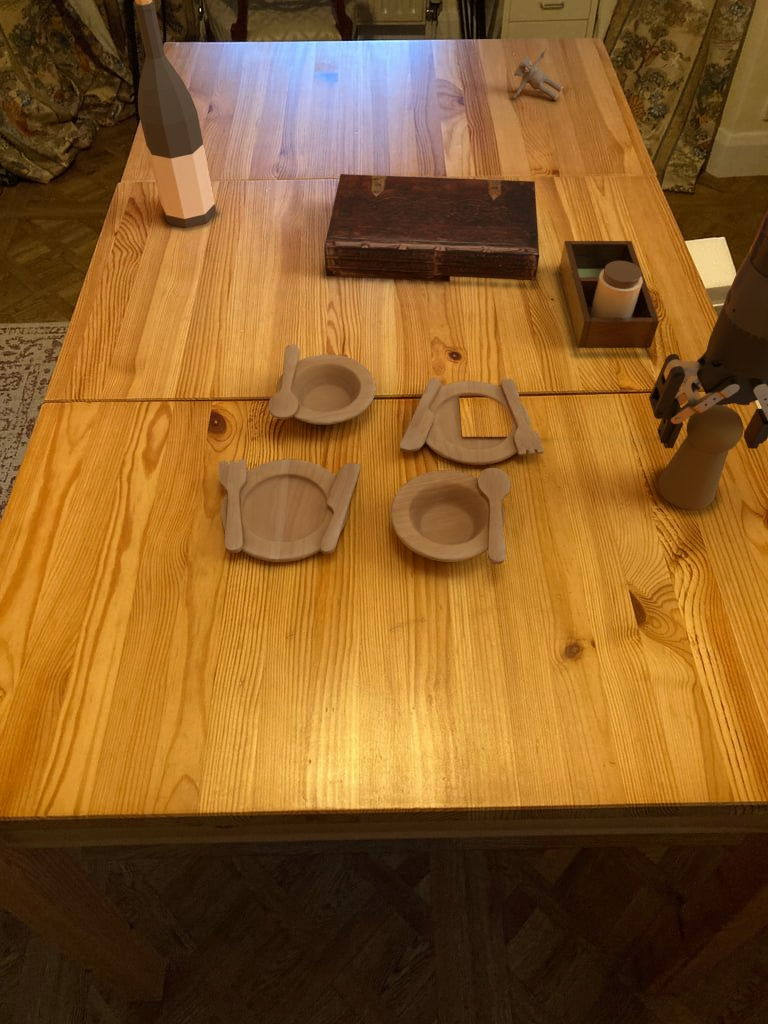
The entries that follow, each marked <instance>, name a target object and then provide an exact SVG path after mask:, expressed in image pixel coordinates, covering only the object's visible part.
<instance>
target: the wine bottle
mask: <svg viewBox="0 0 768 1024" xmlns="http://www.w3.org/2000/svg"><path fill="white" fill-rule="evenodd" d="M133 7H134V9H135V13H136V17H137V22H138V26H139V31H140V35H141V39H142V45H143V48H144V53H145V57H144V62H143V67H142V71H141V73H140V77H139V83H138V91H137V92H138V93H137V110H138V111H137V113H138V117H139V120H140V121H139V122H140V124H141V128H142V133H143V137H144V140H145V145H146V149H147V153H148V157H149V161H150V166H151V169H152V173H153V177H154V181H155V186H156V189H157V193H158V197H159V202H160V205H161V209H162V212H163V215H164V217H165V218H166V220H167V222H168V225H170V226H171V225H172V226H175V227H179V228H180V227H181V228H185V229H187V228H193V227H196V226H201V225H206V224H207V223H208V222H209V221H210V220H211V219H212V218H213V217H214V216H215V215H216V203H215V199H214V194H213V189H212V183H211V178H210V172H209V167H208V161H207V156H206V152H205V146H204V140H203V136H202V135H203V133H202V130H201V129H202V128H201V124H200V119H199V114H198V110H197V107H196V105H195V102H194V100H193V98H192V94H191V93H190V92H189V90H188V88H187V86H186V84H185V81H184V80H183V79H182V77H181V75H180V74H179V73H178V72H177V70H176V68H175V67H174V66H173V64H171V62H170V60H169V58H167V56H166V53H165V49H164V45H163V40H162V34H161V29H160V25H159V20H158V15H157V10H156V3H155V0H134V1H133Z"/></svg>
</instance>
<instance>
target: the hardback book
mask: <svg viewBox="0 0 768 1024" xmlns="http://www.w3.org/2000/svg"><path fill="white" fill-rule="evenodd" d="M537 211H538V210H537V196H536V183H535V181H533V180H511V179H483V178H481V179H479V178H459V177H458V178H454V177H453V178H452V177H431V176H430V177H429V176H407V175H406V176H403V175H378V174H377V175H375V174H372V175H371V174H349V173H348V174H347V173H340V175H339V179H338V183H337V188H336V192H335V197H334V202H333V206H332V210H331V215H330V219H329V224H328V228H327V233H326V238H325V242H324V261H325V262H324V264H325V265H324V266H325V275H326V276H327V277H328V276H330V277H332V276H333V277H352V278H353V277H354V278H375V279H392V280H393V279H394V280H395V279H398V280H414V281H415V280H419V281H437V282H438V281H439V282H440V281H441V282H450V281H451V277H456V278H457V277H458V278H477V279H478V278H479V279H502V280H519V281H521V280H523V281H525V280H526V281H536V280H537V279H536V278H537V273H538V267H539V261H540V246H539V245H540V244H539V228H538V213H537Z"/></svg>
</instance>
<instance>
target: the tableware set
mask: <svg viewBox="0 0 768 1024" xmlns="http://www.w3.org/2000/svg"><path fill="white" fill-rule="evenodd" d="M300 354H301V352H300V347H299V346H298V345H297V344H287V345H286V347H285V349H284V355H283V356H284V357H283V365H282V374H281V375H280V377H279V379H278V381H277V384H276V390H275V391H276V392H275V394H273V395H272V396H271V397H270V399H269V401H268V403H267V408H268V412H269V413H270V415H271V416H272V417H273V418H276V419H280V420H286V419H289V418H294V419H297V420H298V421H300V422H304V423H307V424H310V425H311V424H312V425H319V426H326V425H328V426H331V425H336V424H341V423H345V422H347V421H348V422H349V421H351V420H353V419H355V418H357V417H358V416H360V415H362V414H363V413H364V412H365V411H366V410H367V409H368V408H369V407H370V406H371V405H372V403H373V401H374V399H375V395H376V392H377V391H376V390H377V384H376V381H375V378H374V375H373V374H372V373H371V372H370V370H369V369H368V368H367V367H366V366H365V365H364V364H362V363H361V362H359V361H357V360H356V359H353V358H351V357H348V356H345V355H341V354H318V355H312V356H308V357H305V358H302V359H300ZM515 382H516V381H515V380H513V379H511V378H505V379H502V380H501V381H500V386H498V385H496V384H493V383H489V382H485V381H478V380H462V381H455V382H449V383H446V384H444V385H442V381H441V379H440V378H438V377H433V378H432V377H431V378H430V379H429V381H428V382H427V384H426V386H425V389H424V390H423V393H422V395H421V398H420V400H419V402H418V404H417V407H416V408H415V411H414V413H413V415H412V417H411V420H410V421H409V424H408V427H407V428H406V431H405V433H404V435H403V437H402V440H401V442H400V444H399V451H400V452H403V453H408V454H411V453H412V454H413V453H416V452H417V451H419V450H420V449H421V448H422V447H423V446H424V445H426V446H427V447H428V448H429V449H431V450H432V451H433V452H434V453H435V454H437V455H438V456H440V457H442V458H445V459H447V460H449V461H451V462H455V463H458V464H462V465H469V466H487V465H493V464H497V463H500V462H503V461H505V460H507V459H509V458H511V457H513V456H514V455H516V454H518V456H526V455H527V453H528V455H534V454H535V452H536V453H537V454H538V455H541V454H544V453H545V449H544V446H543V442H542V440H541V437H540V434H539V433H538V432H537V431H536V430H534V429H533V428H531V427H532V426H531V425H532V422H531V417H530V414H529V412H528V410H527V408H526V406H525V404H524V403H522V401H521V398H520V394H519V390H518V388H517V385H516V383H515ZM461 396H481V397H484V398H487V399H490V400H493V401H494V402H497V403H498V404H499V405H500V406H502V407H503V408H504V409H505V411H507V413H508V415H509V417H510V421H511V429H510V432H509V433H508V435H507V436H463V426H462V425H463V424H462V414H461V412H462V411H461V402H460V397H461ZM247 463H248V461H247V459H245V458H243V459H238V462H237V461H236V459H232V460H229V463H228V461H227V460H223V461H218V480H219V484H220V486H221V487H222V488H223V489H224V490H225V492H226V493H225V495H224V498H223V500H222V503H221V508H220V517H221V523H222V527H223V530H224V532H225V534H224V547H225V550H226V551H227V552H228V553H230V554H238V553H240V552H242V553H244V554H246V555H248V556H250V557H252V558H255V559H258V560H261V561H265V562H272V563H289V562H295V561H300V560H303V559H307V558H310V557H312V556H314V555H317V554H318V553H320V552H321V553H322V554H323V555H327V556H328V555H331V554H333V553H334V552H335V550H336V548H337V545H338V543H339V539H340V535H341V532H342V531H343V530H344V528H345V525H346V523H347V519H348V516H349V510H350V508H349V507H350V504H351V502H352V499H353V495H354V492H355V490H356V486H357V483H358V480H359V477H360V474H361V470H362V465H361V464H360V463H355V462H348V463H345V464H343V465H342V466H341V467H340V468H339V470H338V471H337V473H336V475H335V474H334V473H333V472H332V471H330V470H329V469H327V468H325V467H324V466H321V465H319V464H317V463H315V462H312V461H307V460H303V459H296V458H295V459H294V458H291V459H290V458H288V459H287V458H286V459H277V460H271V461H267V462H264V463H261V464H259V465H257V466H255V467H253V468H251V469H249V470H248V464H247ZM511 488H512V480H511V478H510V476H509V475H508V473H507V472H505V471H504V470H503V469H500V468H499V467H488V468H485V469H483V470H482V471H481V472H480V473H479V474H478V476H477V477H476V476H474V475H471V474H469V473H466V472H462V471H458V470H457V471H456V470H442V469H441V470H433V471H428V472H424V473H421V474H419V475H417V476H415V477H413V478H411V479H409V480H408V481H407V482H405V483H404V484H403V485H402V486H401V487H400V488H399V489H398V491H397V492H396V493H395V495H394V497H393V500H392V502H391V507H390V519H391V525H392V527H393V530H394V533H395V534H396V536H397V538H398V539H399V540H400V541H401V543H402V544H403V545H404V546H405V547H407V549H408V550H411V552H413V553H415V554H417V555H419V556H421V557H424V558H426V559H430V560H432V561H438V562H448V563H449V562H450V563H454V562H455V563H456V562H464V561H468V560H471V559H474V558H477V557H479V556H482V555H483V554H485V553H486V552H487V558H488V561H489V562H490V564H491V563H492V565H502V564H503V563H504V562H505V560H506V556H507V551H506V550H507V549H506V539H505V530H504V526H505V522H506V521H505V519H506V516H505V515H506V514H505V508H504V505H503V503H502V502H503V500H504V499H505V498H506V497H507V496H508V495H509V493H510V491H511Z"/></svg>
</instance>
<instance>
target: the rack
mask: <svg viewBox="0 0 768 1024" xmlns="http://www.w3.org/2000/svg"><path fill="white" fill-rule="evenodd" d="M613 261H627V262H630V263H633V264H635V265H636V266H637V267H639V269H640V270H641V277H642V280H643V282H642V286H641V289H640V292H639V296H638V299H637V302H636V306H635V309H634V312H633V315H632V318H590V316H589V315H590V311H591V307H592V303H593V299H594V295H595V291H596V287H597V283H598V279H599V275H600V273H601V271H602V270H603V269H605V266H606V265H607V264H608V263H610V262H613ZM559 271H560V276H561V279H562V284H563V288H564V292H565V297H566V301H567V306H568V310H569V314H570V318H571V322H572V327H573V331H574V335H575V340H576V344H577V348H579V349H582V348H584V349H651V347H652V345H653V342H654V339H655V335H656V332H657V329H658V326H659V323H660V320H659V316H658V313H657V312H656V308H655V305H654V303H653V299H652V297H651V294H650V293H651V292H650V291H649V287H648V285H647V282H646V279H645V275H644V272H643V270H642V267H641V264H640V262H639V259H638V256H637V253H636V249H635V247H634V244H633V241H632V240H564V242H563V246H562V252H561V258H560V262H559Z"/></svg>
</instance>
